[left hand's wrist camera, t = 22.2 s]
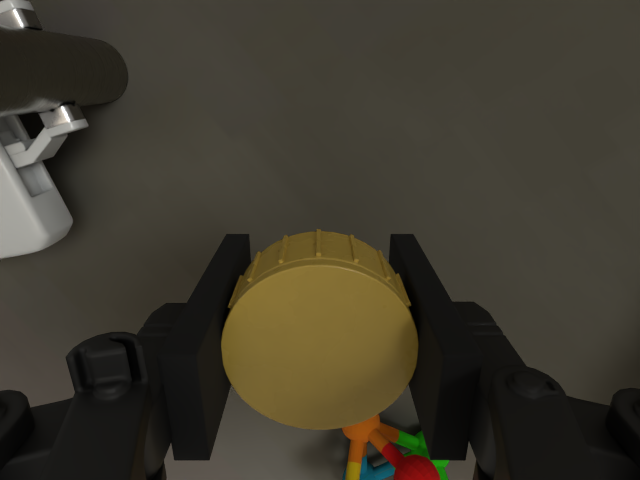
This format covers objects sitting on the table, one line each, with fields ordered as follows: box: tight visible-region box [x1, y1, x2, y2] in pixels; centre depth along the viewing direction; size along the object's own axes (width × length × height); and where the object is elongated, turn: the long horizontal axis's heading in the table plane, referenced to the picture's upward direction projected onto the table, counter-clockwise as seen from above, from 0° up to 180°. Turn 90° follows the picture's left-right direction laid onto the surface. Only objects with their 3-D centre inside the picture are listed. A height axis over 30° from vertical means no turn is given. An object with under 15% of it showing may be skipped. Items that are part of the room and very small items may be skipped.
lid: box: [221, 229, 419, 430], centre depth 11 cm, size 5×5×2 cm
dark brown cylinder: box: [0, 24, 128, 117], centre depth 22 cm, size 4×4×20 cm
